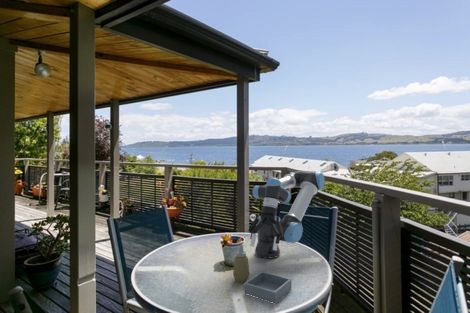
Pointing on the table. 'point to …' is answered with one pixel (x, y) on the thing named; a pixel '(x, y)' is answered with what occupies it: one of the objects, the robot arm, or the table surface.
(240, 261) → the squeeze bottle
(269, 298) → the bin
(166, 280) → the table surface
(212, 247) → the table surface
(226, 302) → the table surface
